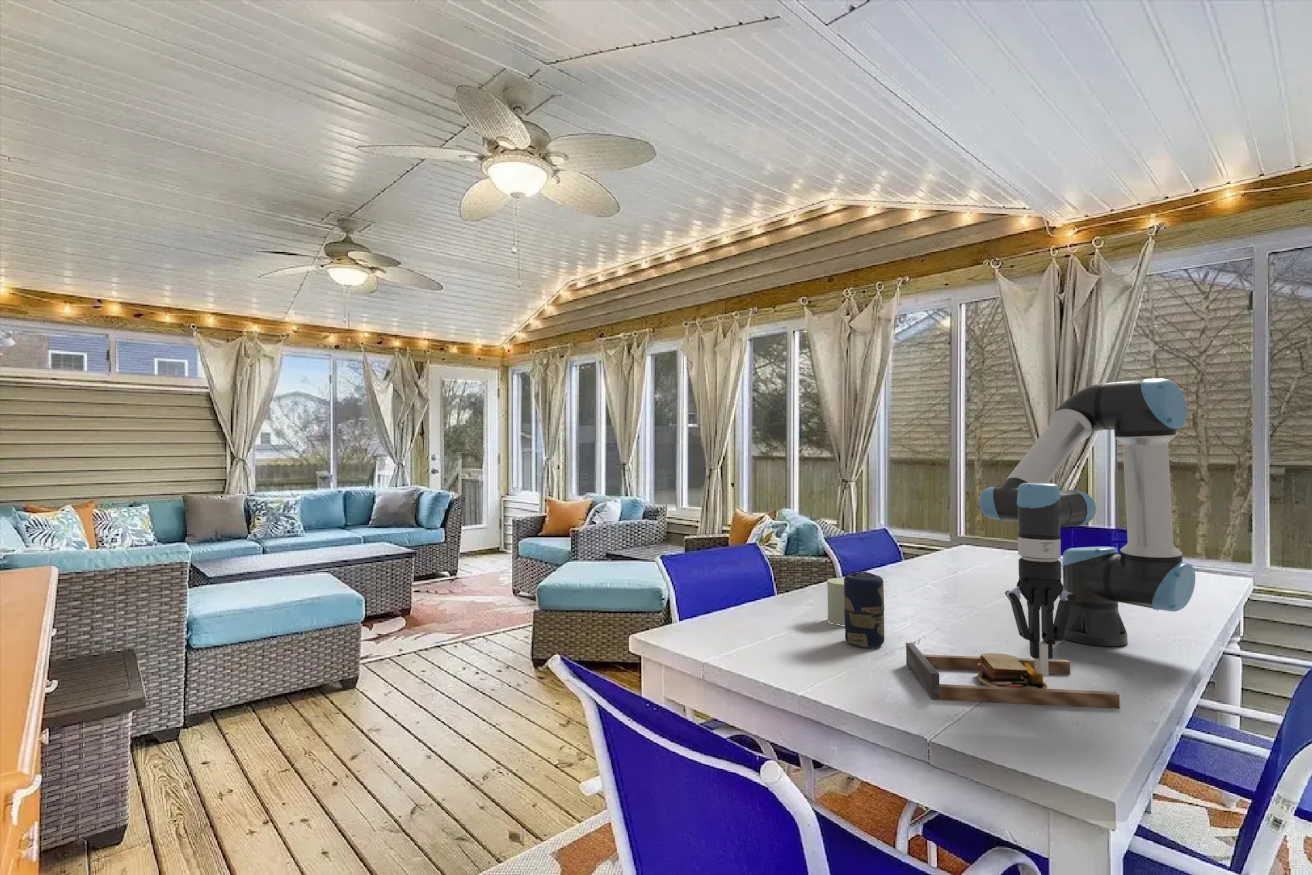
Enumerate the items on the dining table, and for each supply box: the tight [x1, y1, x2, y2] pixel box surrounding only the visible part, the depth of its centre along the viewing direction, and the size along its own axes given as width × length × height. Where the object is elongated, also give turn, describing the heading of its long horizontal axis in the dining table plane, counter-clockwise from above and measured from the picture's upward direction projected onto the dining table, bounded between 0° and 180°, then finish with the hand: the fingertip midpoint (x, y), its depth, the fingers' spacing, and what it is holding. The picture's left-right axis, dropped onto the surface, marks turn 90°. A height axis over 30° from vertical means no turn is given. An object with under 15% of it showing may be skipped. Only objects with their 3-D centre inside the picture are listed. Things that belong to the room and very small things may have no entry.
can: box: [826, 577, 845, 625], centre depth 180 cm, size 9×9×12 cm
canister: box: [843, 571, 885, 648], centre depth 160 cm, size 10×10×18 cm
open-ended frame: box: [905, 642, 1121, 709], centre depth 132 cm, size 34×20×5 cm, turn 82°
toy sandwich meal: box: [977, 652, 1048, 689], centre depth 132 cm, size 12×14×5 cm
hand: (1041, 674), depth 131 cm, fingers closed
